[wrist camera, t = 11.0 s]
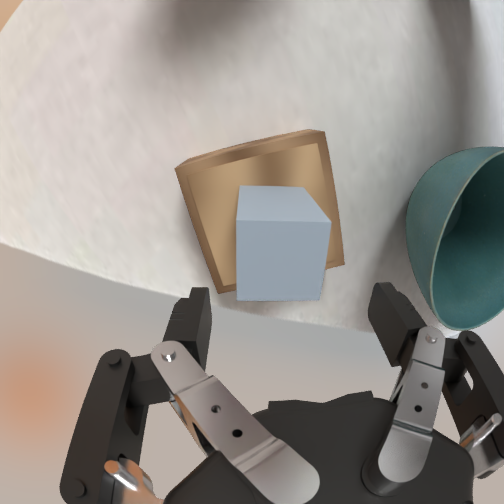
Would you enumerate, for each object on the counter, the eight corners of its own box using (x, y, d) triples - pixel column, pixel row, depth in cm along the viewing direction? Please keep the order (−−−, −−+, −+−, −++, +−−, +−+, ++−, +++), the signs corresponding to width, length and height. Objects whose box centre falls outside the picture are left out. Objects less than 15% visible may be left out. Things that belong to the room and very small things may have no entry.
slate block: (303, 187, 22) (331, 222, 15) (298, 244, 24) (319, 300, 17) (239, 185, 22) (236, 220, 14) (239, 244, 24) (236, 300, 17)
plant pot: (379, 119, 24) (454, 128, 13) (489, 145, 25) (557, 168, 14) (362, 275, 32) (405, 344, 22) (465, 267, 33) (514, 316, 22)
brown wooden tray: (308, 129, 25) (325, 131, 20) (328, 238, 31) (345, 265, 25) (188, 158, 26) (174, 168, 21) (222, 263, 32) (218, 294, 26)
